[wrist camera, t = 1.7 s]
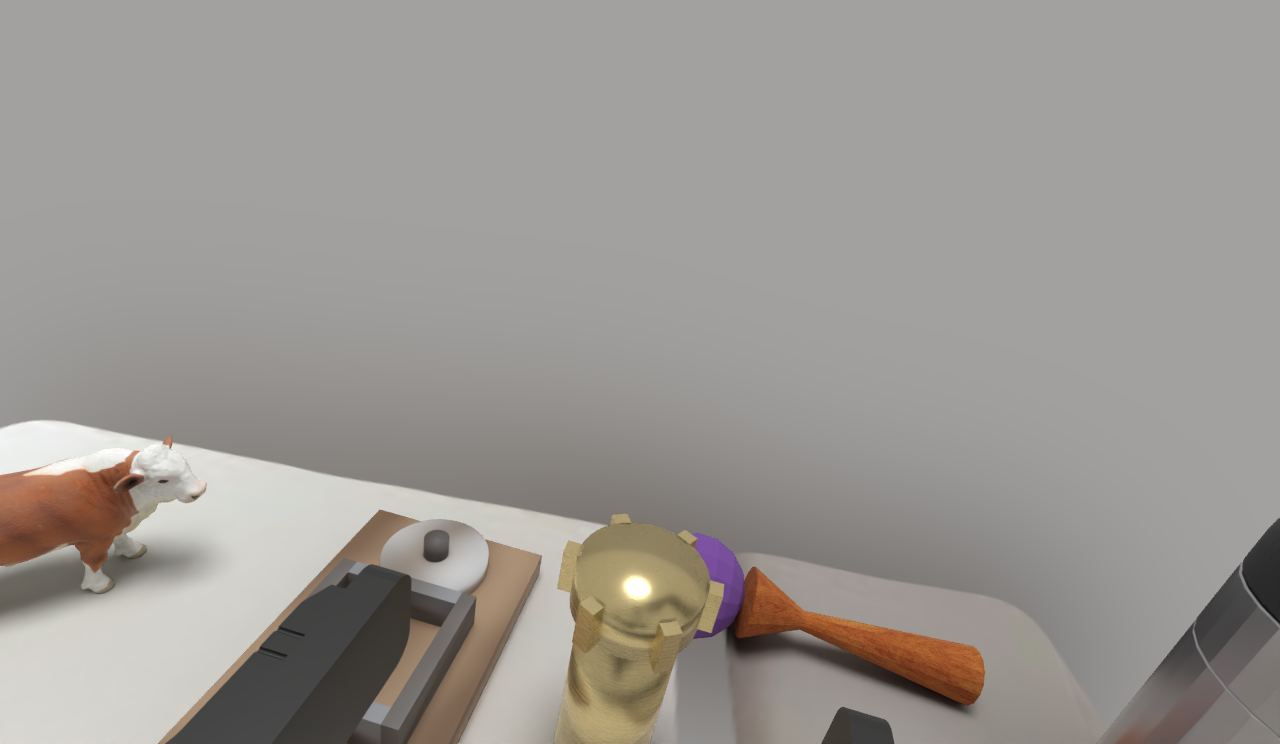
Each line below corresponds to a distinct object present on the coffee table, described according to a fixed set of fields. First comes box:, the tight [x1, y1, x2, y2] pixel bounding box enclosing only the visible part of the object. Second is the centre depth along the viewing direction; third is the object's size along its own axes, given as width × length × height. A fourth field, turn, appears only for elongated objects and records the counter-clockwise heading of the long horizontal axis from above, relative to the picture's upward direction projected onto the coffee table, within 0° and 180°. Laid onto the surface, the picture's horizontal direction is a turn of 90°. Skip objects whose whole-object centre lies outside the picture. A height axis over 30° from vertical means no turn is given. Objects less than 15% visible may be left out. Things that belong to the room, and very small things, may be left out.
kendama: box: [692, 533, 985, 706], centre depth 37 cm, size 6×6×20 cm
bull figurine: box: [0, 435, 207, 593], centre depth 31 cm, size 4×13×8 cm, turn 120°
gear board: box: [158, 510, 542, 744], centre depth 30 cm, size 11×20×4 cm, turn 169°
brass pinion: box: [554, 514, 724, 744], centre depth 27 cm, size 6×6×12 cm
